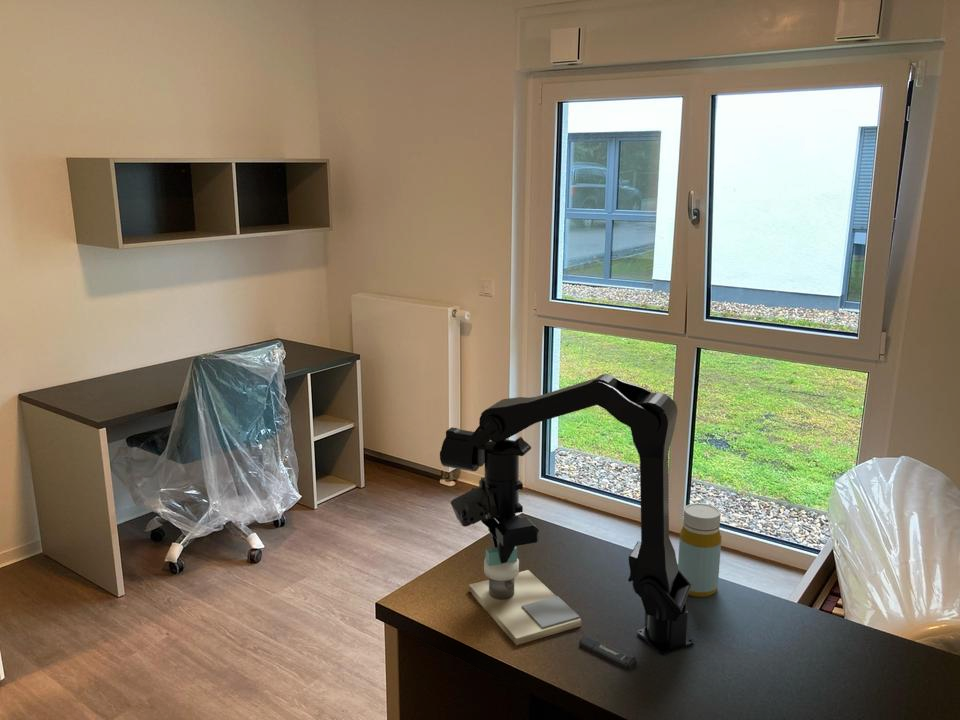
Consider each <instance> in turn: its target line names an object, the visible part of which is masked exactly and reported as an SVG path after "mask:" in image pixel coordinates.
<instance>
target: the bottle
mask: <svg viewBox="0 0 960 720" xmlns="http://www.w3.org/2000/svg"><path fill="white" fill-rule="evenodd" d="M682 515H683V519H682V520H683V521H682V523H683V524H682V527H681V529H680V531H679V540H678V541H679V542H678V557H677V558H678V560H677V565H678V570H679V571H680V572H681V573H682V574H683V576H684V577H685V578H686V579H687V580H688V581H689V582H690V584H691V588H690V591H689V593H688V596H691V597H695V598H709V597H710V596H713V595H714V594H715V593H716V592H717V591H718V589H719V576H720V575H719V574H720V565H721V563H720V562H721V549H722V535H721V532H720V526H721V525H720V524H721V517H722V516H721V510H719V509H718V508H717V507H716V506H713V505H711V504H706V503H698V502H697V503H696V502H695V503H690V504H689V503H688V504H686V506H684V509H683V514H682Z"/></svg>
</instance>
